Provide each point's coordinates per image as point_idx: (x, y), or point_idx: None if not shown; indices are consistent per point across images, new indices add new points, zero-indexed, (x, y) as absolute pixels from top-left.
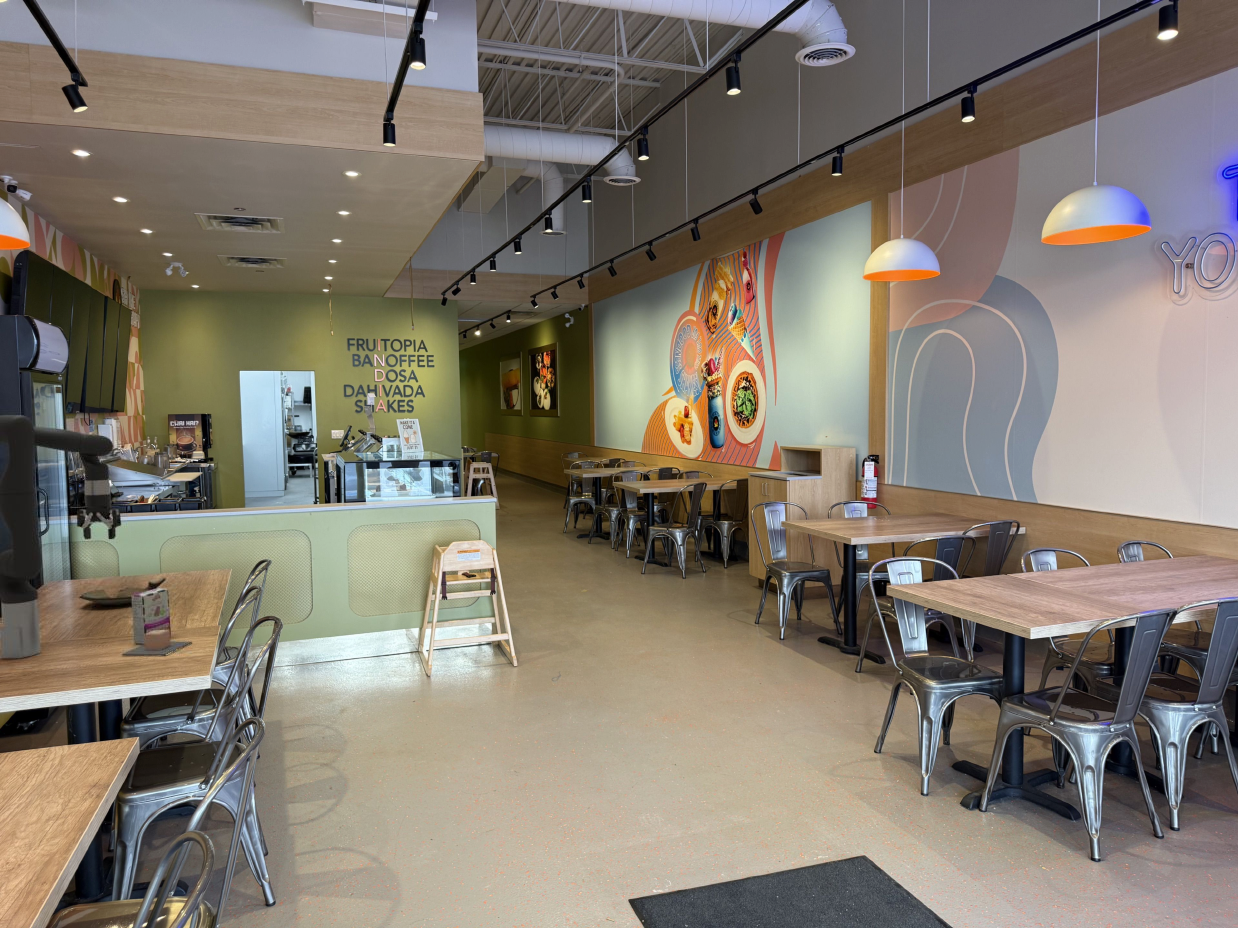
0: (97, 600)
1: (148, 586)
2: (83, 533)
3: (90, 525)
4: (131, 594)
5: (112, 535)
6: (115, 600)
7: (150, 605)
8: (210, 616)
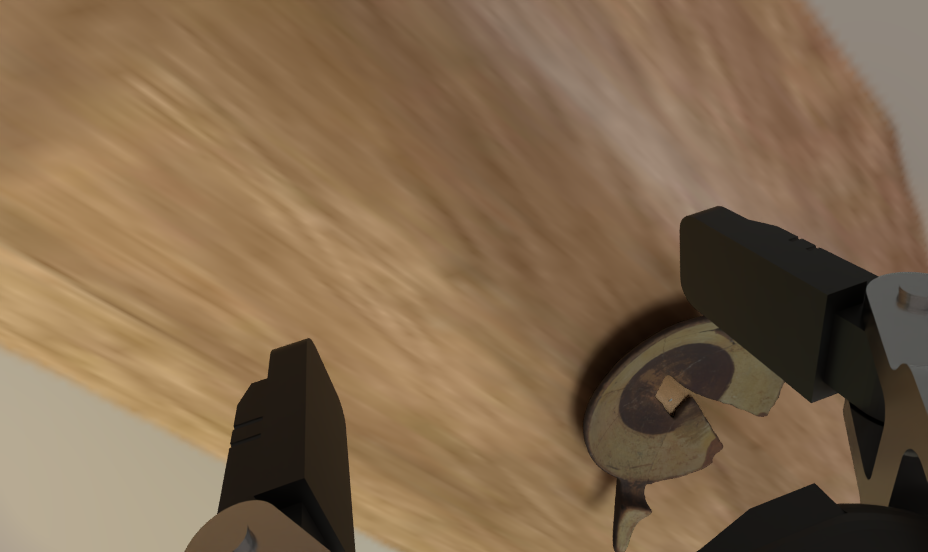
0: (681, 322)
1: (637, 494)
2: (816, 248)
3: (853, 435)
4: (668, 445)
5: (243, 411)
6: (625, 355)
7: None
8: (115, 399)
